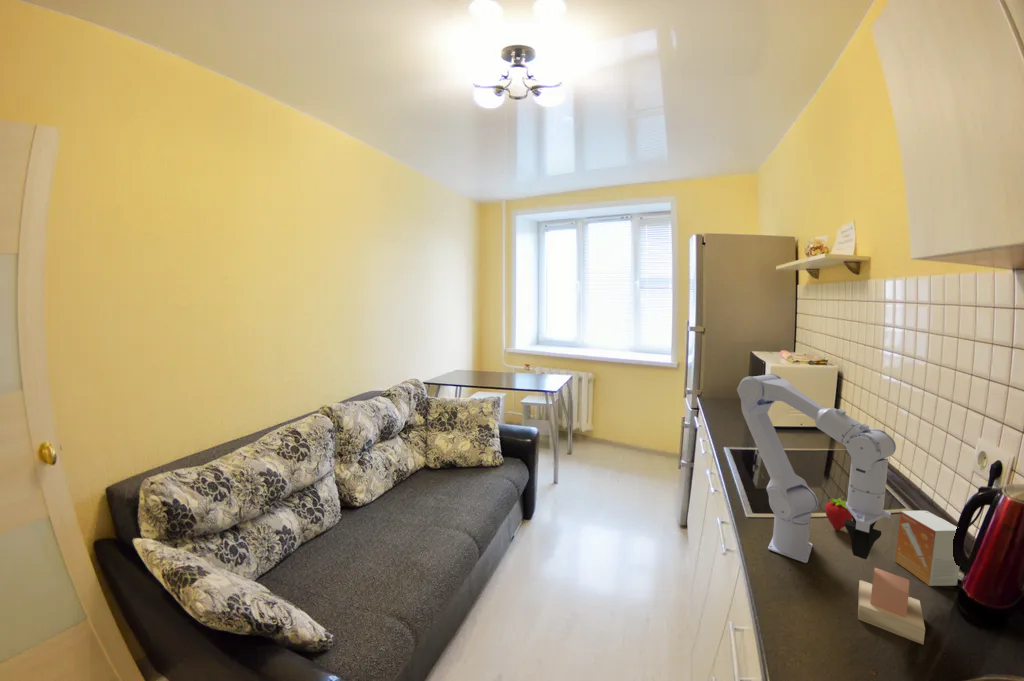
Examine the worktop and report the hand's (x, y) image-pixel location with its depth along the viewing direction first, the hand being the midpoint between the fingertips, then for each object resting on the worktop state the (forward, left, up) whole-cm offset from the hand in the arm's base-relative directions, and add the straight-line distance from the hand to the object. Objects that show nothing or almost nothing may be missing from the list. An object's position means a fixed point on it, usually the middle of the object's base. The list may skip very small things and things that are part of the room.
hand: (860, 547), depth 86 cm
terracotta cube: (+6, +5, -6) cm, 10 cm away
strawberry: (-24, -5, -10) cm, 26 cm away
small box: (-16, +11, -10) cm, 22 cm away
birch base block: (+6, +5, -10) cm, 13 cm away
